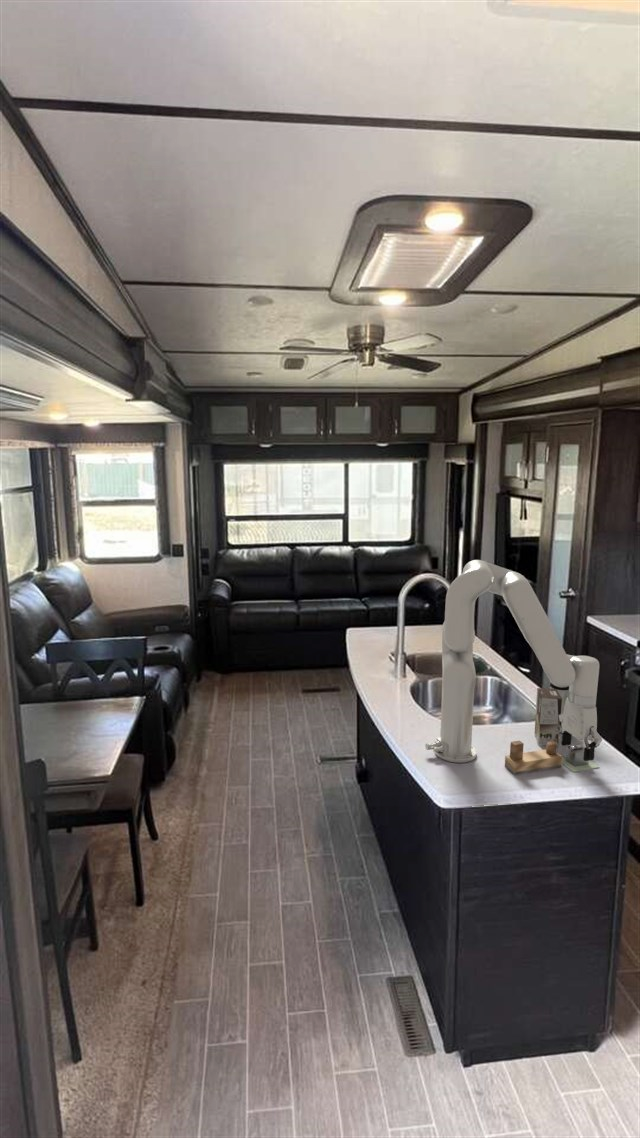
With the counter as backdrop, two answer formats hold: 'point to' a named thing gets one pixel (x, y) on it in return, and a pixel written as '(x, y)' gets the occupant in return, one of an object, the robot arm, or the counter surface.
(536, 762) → the wooden peg block
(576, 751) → the lever cap
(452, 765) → the counter surface
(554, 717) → the coffee box
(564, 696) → the spray can
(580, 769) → the felt pad
